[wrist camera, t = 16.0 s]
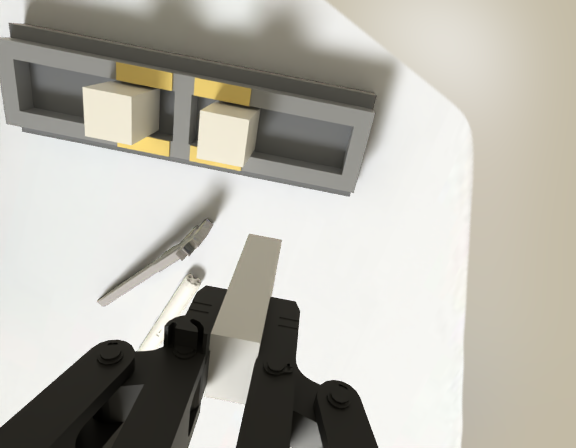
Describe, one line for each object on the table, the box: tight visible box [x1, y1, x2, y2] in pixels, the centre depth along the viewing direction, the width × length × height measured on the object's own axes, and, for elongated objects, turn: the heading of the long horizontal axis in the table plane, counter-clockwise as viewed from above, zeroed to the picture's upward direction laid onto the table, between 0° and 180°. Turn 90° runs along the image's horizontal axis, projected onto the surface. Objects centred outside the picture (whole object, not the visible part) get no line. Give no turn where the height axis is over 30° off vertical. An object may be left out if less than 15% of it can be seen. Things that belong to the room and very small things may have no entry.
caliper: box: [97, 219, 213, 306], centre depth 46 cm, size 20×1×6 cm, turn 129°
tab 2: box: [197, 100, 261, 167], centre depth 35 cm, size 4×4×6 cm
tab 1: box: [82, 80, 160, 145], centre depth 35 cm, size 4×4×6 cm
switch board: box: [0, 23, 376, 197], centre depth 38 cm, size 34×10×4 cm, turn 80°
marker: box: [138, 274, 201, 351], centre depth 51 cm, size 18×2×2 cm, turn 147°
